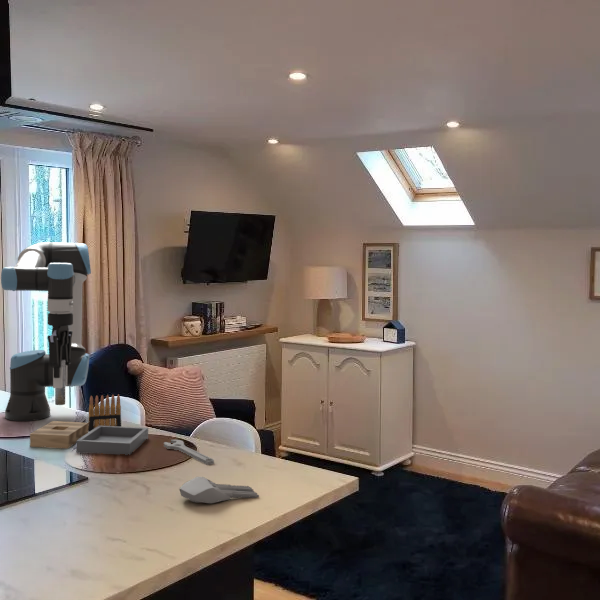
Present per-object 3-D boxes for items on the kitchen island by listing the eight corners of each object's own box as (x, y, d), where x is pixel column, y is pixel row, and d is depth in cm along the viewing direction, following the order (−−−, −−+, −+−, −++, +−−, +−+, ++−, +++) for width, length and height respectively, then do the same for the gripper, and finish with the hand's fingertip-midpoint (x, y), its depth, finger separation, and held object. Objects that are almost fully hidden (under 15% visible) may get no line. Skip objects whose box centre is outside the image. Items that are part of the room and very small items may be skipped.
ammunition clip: (88, 431, 235) (88, 396, 234) (87, 430, 236) (88, 395, 236) (121, 429, 239) (121, 394, 238) (120, 428, 241) (120, 393, 240)
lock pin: (57, 402, 224) (57, 359, 223) (66, 403, 224) (66, 359, 223) (53, 404, 221) (53, 360, 220) (62, 405, 221) (63, 361, 220)
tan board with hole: (52, 433, 232) (52, 421, 232) (88, 434, 231) (88, 422, 231) (30, 446, 216) (30, 433, 216) (68, 448, 215) (68, 435, 215)
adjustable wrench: (215, 465, 204) (215, 459, 204) (195, 469, 201) (195, 462, 200) (178, 443, 225) (179, 438, 225) (159, 446, 221) (160, 441, 221)
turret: (260, 509, 176) (263, 490, 176) (182, 506, 168) (185, 487, 168) (247, 496, 185) (250, 478, 185) (173, 493, 177) (176, 474, 177)
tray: (98, 436, 230) (98, 425, 230) (148, 438, 228) (148, 427, 228) (76, 452, 211) (76, 440, 211) (129, 455, 210) (129, 443, 210)
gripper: (61, 315, 212) (61, 392, 214) (82, 310, 228) (81, 382, 230) (37, 314, 213) (37, 391, 215) (59, 309, 229) (59, 381, 231)
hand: (60, 386), depth 222 cm, fingers closed on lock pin, 3 cm apart
